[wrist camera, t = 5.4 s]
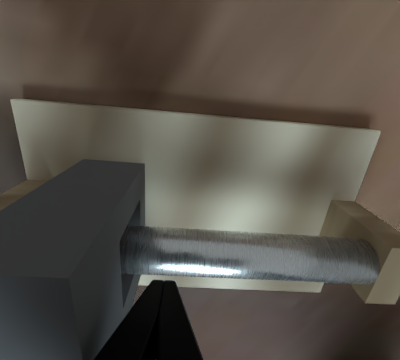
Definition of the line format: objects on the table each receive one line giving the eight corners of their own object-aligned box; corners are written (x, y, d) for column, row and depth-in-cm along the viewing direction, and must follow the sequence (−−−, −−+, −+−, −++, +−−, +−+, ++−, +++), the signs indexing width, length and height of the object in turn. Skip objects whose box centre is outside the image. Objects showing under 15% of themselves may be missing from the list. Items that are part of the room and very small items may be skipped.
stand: (369, 128, 12) (479, 152, 7) (314, 283, 16) (363, 360, 11) (22, 98, 11) (-101, 104, 6) (55, 271, 15) (-6, 352, 10)
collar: (145, 163, 11) (69, 277, 4) (145, 259, 13) (95, 435, 7) (83, 159, 11) (-97, 271, 4) (93, 256, 13) (-13, 435, 6)
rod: (379, 225, 11) (426, 259, 9) (362, 264, 12) (401, 303, 10) (-3, 202, 10) (-58, 234, 8) (9, 246, 11) (-38, 286, 9)
